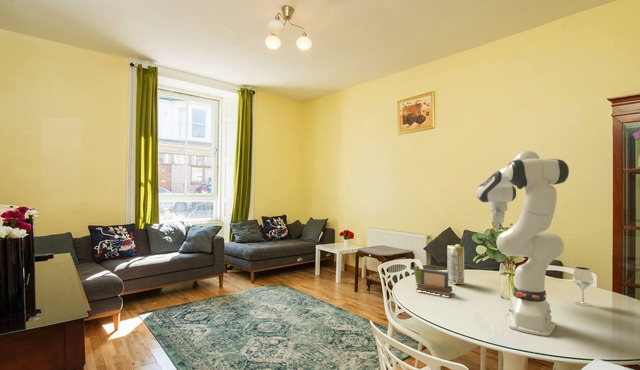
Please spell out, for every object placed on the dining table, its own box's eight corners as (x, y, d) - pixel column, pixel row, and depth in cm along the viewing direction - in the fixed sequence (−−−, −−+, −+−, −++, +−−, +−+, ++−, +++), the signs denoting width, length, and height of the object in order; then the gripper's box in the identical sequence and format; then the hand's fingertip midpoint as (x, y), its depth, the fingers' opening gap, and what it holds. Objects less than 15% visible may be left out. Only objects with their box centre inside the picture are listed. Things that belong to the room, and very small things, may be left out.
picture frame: (447, 291, 176) (447, 273, 176) (421, 287, 184) (421, 269, 184) (448, 290, 178) (448, 272, 179) (422, 286, 186) (422, 268, 186)
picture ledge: (448, 297, 172) (448, 290, 172) (416, 291, 182) (416, 284, 182) (452, 292, 181) (452, 285, 181) (421, 287, 190) (421, 280, 190)
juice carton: (466, 285, 196) (466, 245, 196) (454, 285, 194) (454, 245, 195) (456, 280, 205) (456, 242, 205) (445, 281, 203) (445, 243, 204)
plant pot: (410, 282, 200) (410, 268, 200) (425, 282, 201) (425, 268, 201) (417, 287, 191) (417, 272, 191) (432, 286, 192) (432, 272, 192)
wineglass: (597, 307, 159) (597, 270, 159) (578, 306, 161) (578, 269, 161) (587, 301, 167) (586, 266, 167) (569, 300, 169) (569, 266, 169)
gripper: (503, 208, 170) (503, 234, 170) (506, 206, 187) (506, 230, 187) (489, 207, 173) (489, 233, 173) (493, 206, 190) (493, 229, 190)
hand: (498, 232), depth 180 cm, fingers open, 8 cm apart
